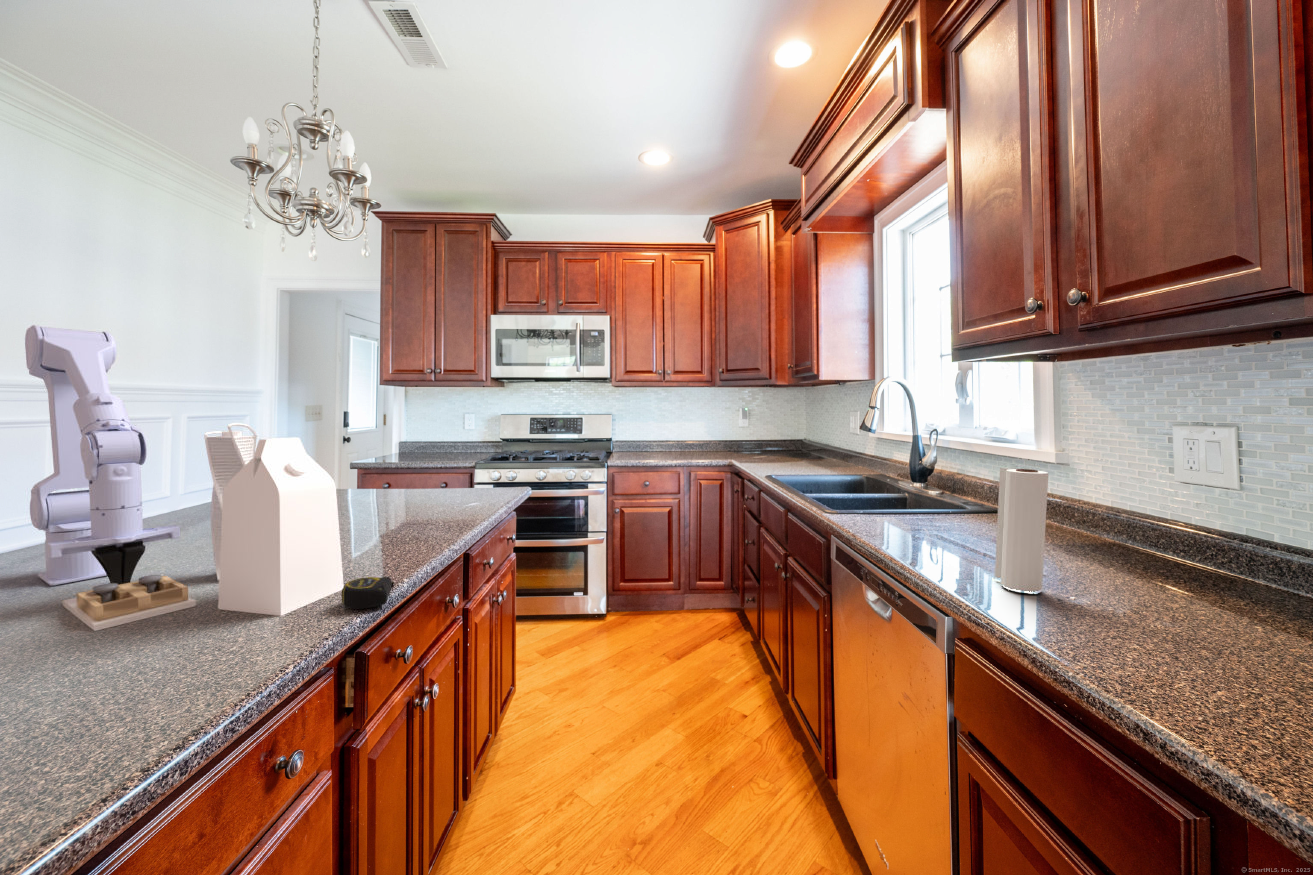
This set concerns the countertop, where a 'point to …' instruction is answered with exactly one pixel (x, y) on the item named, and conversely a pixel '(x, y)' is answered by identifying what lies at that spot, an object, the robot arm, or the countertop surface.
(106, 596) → the mounting plate
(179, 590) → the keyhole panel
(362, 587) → the tape measure
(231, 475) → the skyscraper
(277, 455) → the milk
